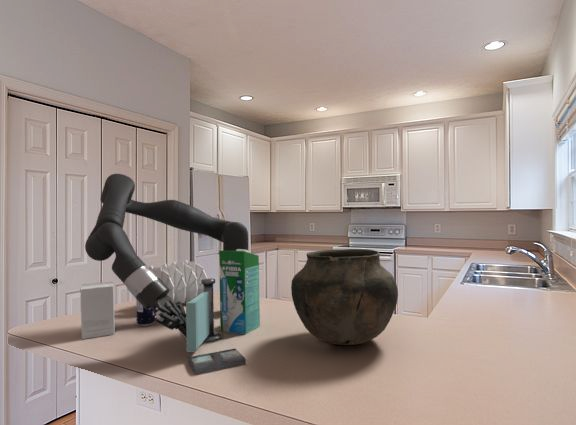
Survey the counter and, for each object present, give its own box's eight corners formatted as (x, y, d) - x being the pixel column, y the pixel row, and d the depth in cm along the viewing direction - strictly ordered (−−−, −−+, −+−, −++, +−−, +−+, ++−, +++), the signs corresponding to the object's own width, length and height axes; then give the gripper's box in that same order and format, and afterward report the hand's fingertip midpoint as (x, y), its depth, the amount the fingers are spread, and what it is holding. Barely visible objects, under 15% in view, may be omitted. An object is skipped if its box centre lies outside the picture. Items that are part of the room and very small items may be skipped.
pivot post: (217, 332, 111) (216, 276, 111) (224, 339, 105) (223, 280, 105) (194, 336, 108) (193, 279, 108) (199, 343, 102) (198, 282, 102)
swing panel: (202, 333, 104) (201, 291, 104) (210, 333, 104) (210, 291, 104) (186, 351, 90) (185, 303, 91) (196, 351, 90) (195, 303, 90)
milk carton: (260, 326, 117) (258, 248, 117) (245, 334, 109) (243, 250, 109) (236, 323, 121) (234, 247, 121) (220, 331, 113) (218, 250, 113)
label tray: (235, 353, 94) (235, 346, 94) (246, 364, 87) (245, 357, 87) (188, 362, 89) (188, 355, 89) (195, 374, 82) (195, 367, 82)
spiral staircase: (205, 309, 155) (159, 322, 133) (178, 288, 163) (130, 297, 141) (220, 271, 153) (176, 277, 131) (192, 252, 161) (146, 255, 139)
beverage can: (151, 327, 118) (150, 289, 118) (133, 327, 118) (133, 290, 118) (157, 321, 124) (157, 286, 124) (141, 322, 124) (140, 286, 124)
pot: (273, 356, 91) (271, 257, 91) (309, 321, 121) (308, 246, 121) (394, 372, 81) (392, 260, 81) (401, 329, 111) (400, 247, 111)
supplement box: (114, 327, 119) (113, 281, 119) (114, 334, 111) (114, 285, 111) (82, 331, 115) (81, 283, 115) (80, 339, 107) (80, 288, 107)
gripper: (148, 291, 103) (190, 337, 102) (123, 302, 89) (171, 355, 88) (167, 273, 102) (209, 318, 101) (144, 281, 89) (192, 334, 88)
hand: (191, 335), depth 95 cm, fingers closed
